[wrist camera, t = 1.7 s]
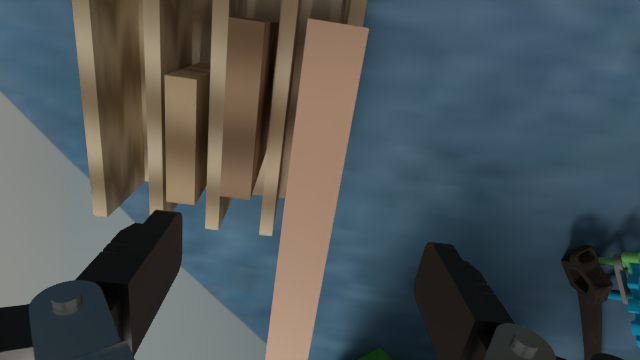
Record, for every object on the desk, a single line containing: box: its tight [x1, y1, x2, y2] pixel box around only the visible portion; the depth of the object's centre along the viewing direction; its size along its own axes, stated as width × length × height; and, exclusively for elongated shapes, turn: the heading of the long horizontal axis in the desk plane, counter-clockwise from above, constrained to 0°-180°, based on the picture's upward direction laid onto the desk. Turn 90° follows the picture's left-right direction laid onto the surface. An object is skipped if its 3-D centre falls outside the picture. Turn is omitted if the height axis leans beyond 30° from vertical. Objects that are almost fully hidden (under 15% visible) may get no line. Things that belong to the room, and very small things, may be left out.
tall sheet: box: [265, 18, 369, 360], centre depth 22 cm, size 14×2×22 cm, turn 172°
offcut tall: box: [220, 17, 279, 200], centre depth 27 cm, size 11×2×10 cm, turn 172°
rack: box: [72, 0, 367, 236], centre depth 29 cm, size 18×19×8 cm
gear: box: [598, 251, 640, 347], centre depth 40 cm, size 11×6×10 cm
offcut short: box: [164, 62, 211, 205], centre depth 29 cm, size 9×2×8 cm, turn 172°
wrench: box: [561, 245, 613, 360], centre depth 44 cm, size 5×5×30 cm
